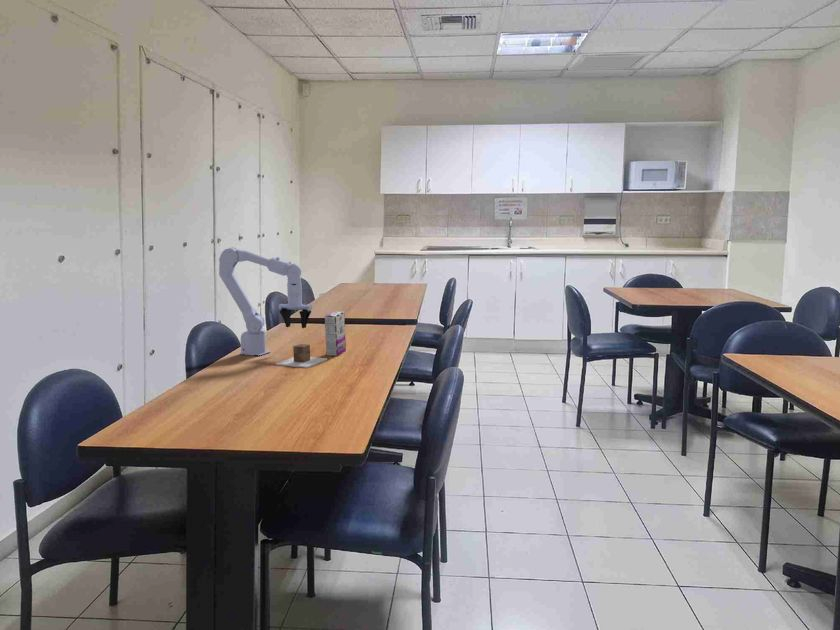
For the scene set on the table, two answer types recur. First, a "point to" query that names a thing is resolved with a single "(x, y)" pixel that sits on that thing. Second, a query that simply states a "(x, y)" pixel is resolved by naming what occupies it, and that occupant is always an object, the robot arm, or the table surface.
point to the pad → (307, 364)
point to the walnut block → (301, 353)
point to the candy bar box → (335, 333)
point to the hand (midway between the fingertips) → (296, 327)
